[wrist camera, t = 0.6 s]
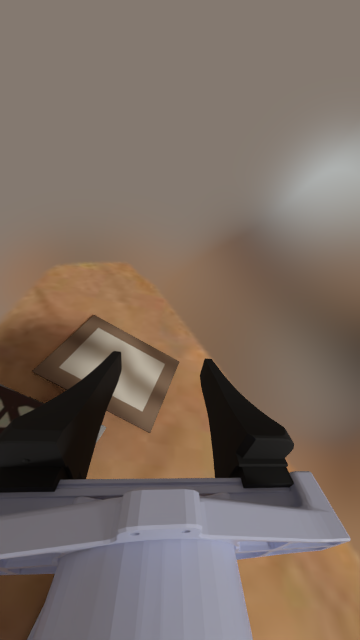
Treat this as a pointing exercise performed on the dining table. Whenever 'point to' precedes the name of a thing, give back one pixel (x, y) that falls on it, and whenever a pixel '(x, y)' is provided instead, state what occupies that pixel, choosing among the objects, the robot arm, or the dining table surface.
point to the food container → (19, 407)
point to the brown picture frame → (136, 376)
